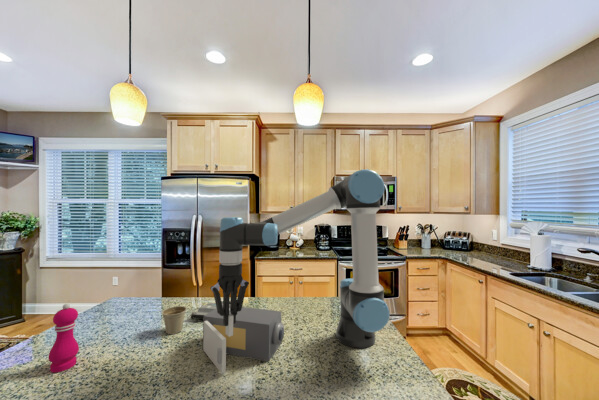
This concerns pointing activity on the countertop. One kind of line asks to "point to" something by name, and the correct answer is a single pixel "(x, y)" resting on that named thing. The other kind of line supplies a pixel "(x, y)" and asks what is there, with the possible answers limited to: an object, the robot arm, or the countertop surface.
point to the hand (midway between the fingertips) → (229, 334)
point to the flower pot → (174, 319)
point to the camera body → (251, 332)
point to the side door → (215, 346)
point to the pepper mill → (64, 340)
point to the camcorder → (204, 310)
